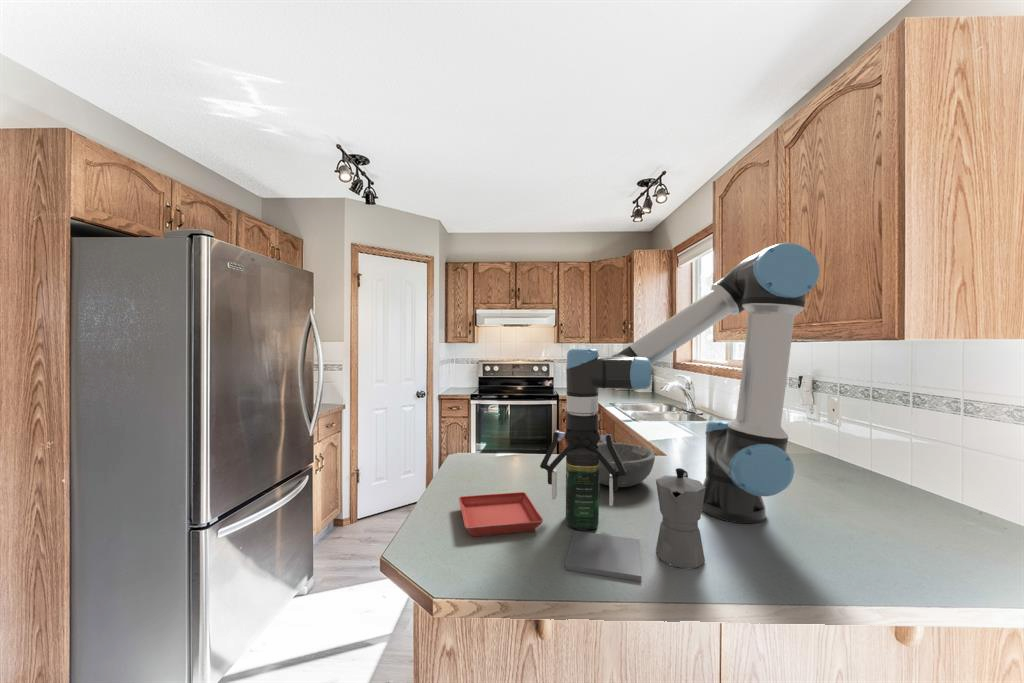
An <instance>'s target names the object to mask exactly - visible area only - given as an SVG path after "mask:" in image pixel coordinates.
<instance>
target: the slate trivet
mask: <svg viewBox="0 0 1024 683" xmlns="http://www.w3.org/2000/svg"><path fill="white" fill-rule="evenodd" d="M640 541H641V540H640V539H639V538H632V537H625V536H617V535H610V534H603V533H602V534H601V533H594V532H593V533H592V532H587V531H586V532H585V531H577V530H574V531H573V535H572V538H571V542H570V545H569V550H568V552H567V556H566V559H565V562H564V570H566V571H571V572H578V573H585V574H591V575H598V576H603V577H609V578H615V579H623V580H629V581H635V582H636V581H637V582H642V564H641V563H642V562H641V561H642V560H641V546H640V545H641V544H640Z"/></svg>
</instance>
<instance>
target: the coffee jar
mask: <svg viewBox="0 0 1024 683" xmlns="http://www.w3.org/2000/svg"><path fill="white" fill-rule="evenodd" d="M599 502H600V483H599V455H598V454H597V453H595V452H593V451H591V450H590V449H588V448H586V447H578V448H575V449H572V450H571V451H569V452H567V453H566V456H565V521H566V522H565V523H566V524H567V526H568V527H570V528H574V529H576V530H580V531H589V530H593V529H597V527H598V526H599V521H600V520H599V517H600V516H599V515H600V513H599V512H600V508H599V507H600V503H599Z"/></svg>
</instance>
